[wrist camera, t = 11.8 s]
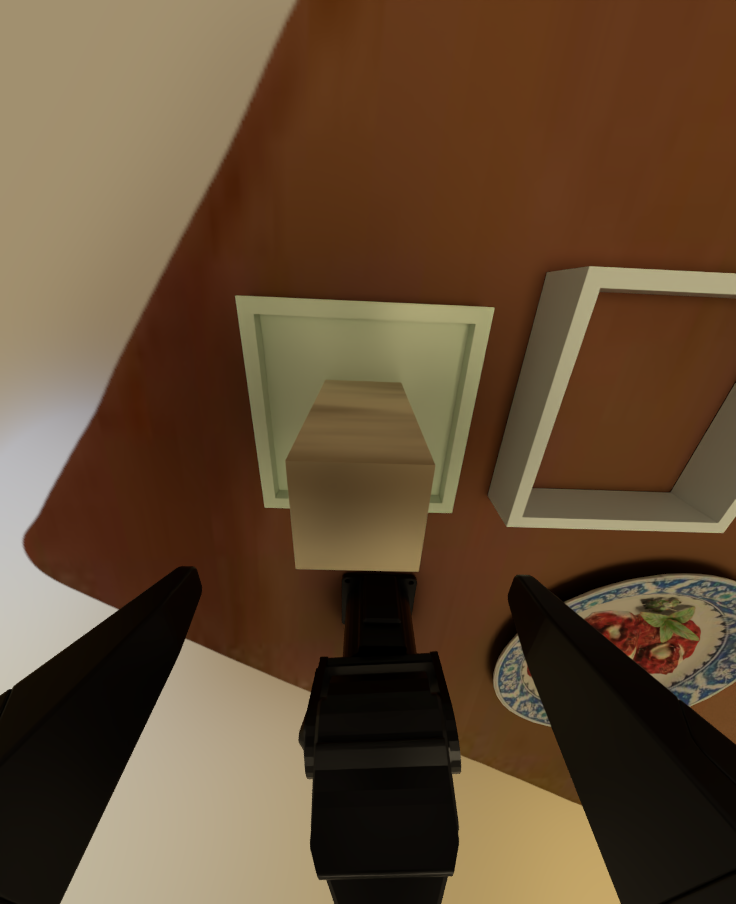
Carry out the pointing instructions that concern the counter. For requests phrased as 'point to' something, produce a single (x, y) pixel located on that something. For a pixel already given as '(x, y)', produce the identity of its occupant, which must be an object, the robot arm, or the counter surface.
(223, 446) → the counter surface
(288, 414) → the tray
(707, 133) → the counter surface
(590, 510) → the frame
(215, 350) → the counter surface
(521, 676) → the ceramic plate
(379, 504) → the birch peg
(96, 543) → the counter surface
